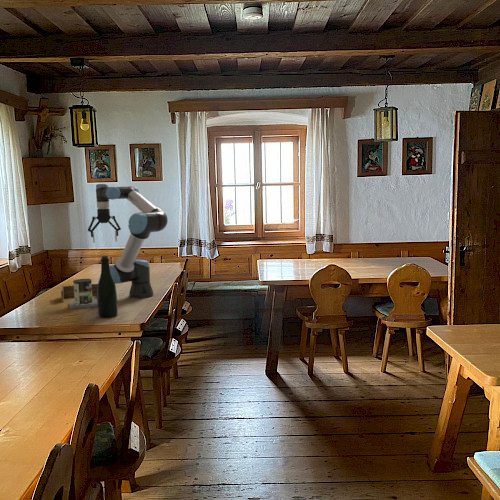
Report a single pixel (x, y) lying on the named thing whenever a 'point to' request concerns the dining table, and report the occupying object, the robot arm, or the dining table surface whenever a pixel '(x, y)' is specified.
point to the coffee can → (83, 291)
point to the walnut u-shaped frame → (69, 291)
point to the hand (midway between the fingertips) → (105, 241)
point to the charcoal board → (73, 306)
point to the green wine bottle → (106, 292)
